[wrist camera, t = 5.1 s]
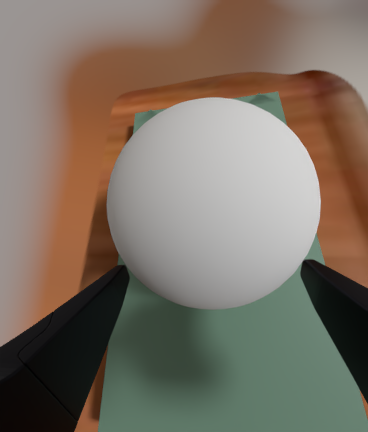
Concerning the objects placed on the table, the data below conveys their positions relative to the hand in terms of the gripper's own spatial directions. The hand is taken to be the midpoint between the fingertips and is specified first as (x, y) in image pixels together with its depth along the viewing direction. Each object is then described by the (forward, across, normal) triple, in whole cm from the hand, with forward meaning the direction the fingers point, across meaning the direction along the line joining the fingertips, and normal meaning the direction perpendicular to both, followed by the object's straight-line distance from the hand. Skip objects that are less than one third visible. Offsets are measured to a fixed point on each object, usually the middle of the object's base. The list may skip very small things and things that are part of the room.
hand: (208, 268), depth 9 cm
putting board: (+8, 0, +3) cm, 9 cm away
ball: (+3, 0, -2) cm, 4 cm away
